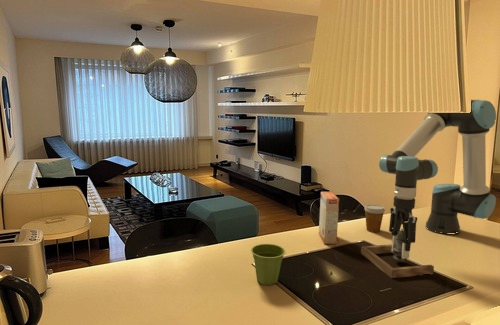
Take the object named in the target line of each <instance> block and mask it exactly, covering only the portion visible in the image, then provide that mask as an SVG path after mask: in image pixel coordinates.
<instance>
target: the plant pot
mask: <svg viewBox="0 0 500 325" xmlns="http://www.w3.org/2000/svg"><path fill="white" fill-rule="evenodd" d="M250 252H251V254H252V257H253V262H254V268H255V274H256V275H255V276H256V281H257V282H258V283H259V284H260V285H263V286H271V285H275V284H277V283H278V280H279V276H280V271H281V266H282V261H283V259H284V258H283V257H284V255H286V249H285V248H284V247H282V246H281V245H279V244H274V243H273V244H272V243H261V244H256V245H253V246H252V247H251V250H250Z"/></svg>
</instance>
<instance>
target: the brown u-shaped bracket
mask: <svg viewBox="0 0 500 325" xmlns="http://www.w3.org/2000/svg"><path fill="white" fill-rule="evenodd" d="M390 253H392V254H394V252H392V243H390V244H378V245H377V244H376V245H363V246H361V247H360V254H361V255H362V256H363V257H365V258H366V259H367V260H369V261H370V262H371V263H372V264H373V265H374V266H376V267H377V268H378V269H379V270H380V271H382V272H383V273H384V274H386V275H387V276H388V277H389V278H390V279H395V278H396V279H397V278H406V277H415V276H417V275H419V276H424V275H423V274H430V275H434V270H435V269H434V268H435V266H434V265H433V264H425V265H424V264H423V265H414V266H413V265H412V266H402V267H393V266H391V265H390V264H389V263H388V262H386V261H385V260H383V258H380V257H379V256H378V254H390ZM417 277H418V276H417Z"/></svg>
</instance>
